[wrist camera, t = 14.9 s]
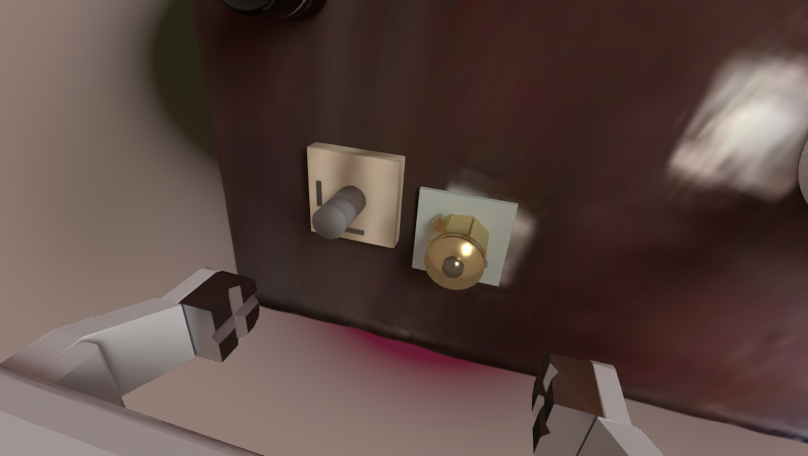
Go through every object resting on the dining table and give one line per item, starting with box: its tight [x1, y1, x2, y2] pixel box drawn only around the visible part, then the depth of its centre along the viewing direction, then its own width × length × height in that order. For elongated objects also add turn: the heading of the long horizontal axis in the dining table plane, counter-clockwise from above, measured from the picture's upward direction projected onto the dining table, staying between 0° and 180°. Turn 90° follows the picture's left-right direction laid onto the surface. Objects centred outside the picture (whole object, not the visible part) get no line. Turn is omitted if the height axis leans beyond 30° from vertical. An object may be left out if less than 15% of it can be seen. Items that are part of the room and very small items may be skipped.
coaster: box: [412, 187, 518, 286], centre depth 41 cm, size 10×10×1 cm
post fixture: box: [307, 142, 405, 248], centre depth 39 cm, size 10×10×8 cm
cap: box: [424, 213, 489, 290], centre depth 38 cm, size 6×7×6 cm
